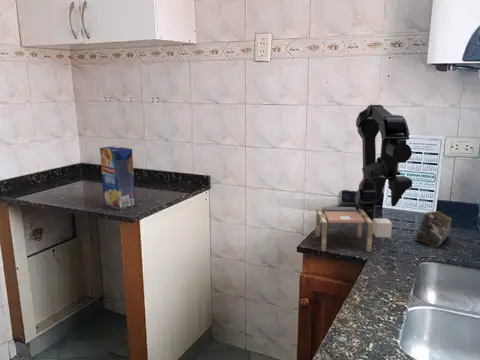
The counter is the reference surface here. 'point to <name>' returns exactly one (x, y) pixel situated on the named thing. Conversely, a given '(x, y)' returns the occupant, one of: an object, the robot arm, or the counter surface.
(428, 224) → the rock
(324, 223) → the frame
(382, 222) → the limestone block
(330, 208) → the trapdoor
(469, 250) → the counter surface
